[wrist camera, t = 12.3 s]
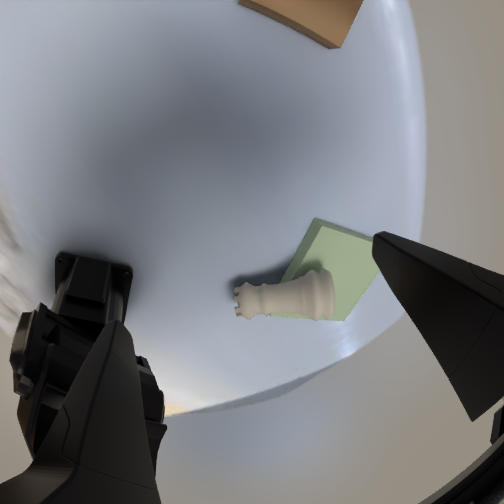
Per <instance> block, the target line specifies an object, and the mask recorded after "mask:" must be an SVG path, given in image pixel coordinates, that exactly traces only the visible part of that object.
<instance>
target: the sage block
mask: <svg viewBox="0 0 504 504" xmlns="http://www.w3.org/2000/svg"><path fill="white" fill-rule="evenodd" d="M372 244H373V238H371V237H369V236H366V235H363V234H360V233H357V232H355V231H352V230H349V229H346V228H343V227H340V226H337V225H334V224H331V223H328V222H325V221H322V220H319V219H316V218H314V220H313V222H312V224H311V226H310V228H309V230H308V232H307V233H306V235H305V237H304V239H303V241H302V243H301V244H300V246H299V248H298V250H297V252H296V254H295V255H294V257H293V259H292V261H291V263H290V264H289V266H288V268H287V270H286V272H285V273H284V275H283V277H282V279H281V281H280V282H279V284H280V283H284V282H289V281H292V280H295V279H298V278H299V277H300V276H304V275H305V274H306V273H307V272H308V271H310V270H314V271H316V272H317V273H319V272H320V271H321V269H322V268H324V269H326V270H328V271H330V272H331V275H332V279H333V283H334V291H335V312H334V315H333V316H332V317H331V318H330V319H328V320H334V321H344V320H345V319H346V317H347V316H348V315H349V313H350V312H351V311H352V309H353V308H354V307H355V305H356V304H357V303H358V301H359V300H360V299H361V297H362V296H363V294H364V293H365V292H366V290H367V289H368V287H369V286H370V284H371V283H372V282H373V280H374V279H375V277H376V276H377V274H378V273H379V271H380V269H379V268H378V266H377V264H376V263H375V261H374V259H373V257H372ZM269 315H270V316H275V317H287V318H301V319H310V318H309V317H308V316H304V317H303V316H302V315H299V314H292V313H272V314H269ZM318 320H326V319H325V318H324V317H323V316H321V317H320V318H319V319H318Z"/></svg>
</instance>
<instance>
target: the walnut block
mask: <svg viewBox="0 0 504 504" xmlns="http://www.w3.org/2000/svg"><path fill="white" fill-rule="evenodd" d="M362 2H363V0H240V1H239V2H238V4H240V5H243V6H245V7H248V8H250V9H252V10H255V11H257V12H259V13H262V14H264V15H266V16H268V17H270V18H273V19H275V20H277V21H279V22H281V23H283V24H285V25H287V26H289V27H291V28H293V29H295V30H297V31H298V32H300V33H302V34H304V35H306V36H307V37H309V38H311V39H313V40H315V41H316V42H318V43H320V44H321V45H323V46H325V47H326V48H328V49H335V48H341V46H342V44H343V42H344V40H345V38H346V36H347V34H348V31H349V29H350V27H351V25H352V23H353V21H354V19H355V17H356V15H357V13H358V11H359V9H360V7H361V5H362Z"/></svg>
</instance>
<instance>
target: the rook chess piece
mask: <svg viewBox="0 0 504 504" xmlns="http://www.w3.org/2000/svg"><path fill="white" fill-rule="evenodd" d="M234 294H237V296H234V302H238V306H239V307H235V313H236V316H237V317H238V316H243V317H245V318H246V319H248V320H250V319H251V318H253V317H254V316H255V315H257V314H264V315H266V316H268V315H269V314H272V313H292V314H299V315H302V316H303V317H304V316H308V317H309V318H310V319H312V320H316V321H317V320H318V319H319V318H320V317H321V316H323V317H324V318H325V319H326V320H328V319H330V318H331V317H332V316H333V315H334V312H335V291H334V283H333V279H332V275H331V272H330V271H328V270H326V269H324V268H322V269H321V271H320V272H319V273H317V272H316V271H314V270H310V271H308V272H307V273H306V274H305V275H304V276H300V277H299V278H298V279H295V280H292V281H289V282H284V283H280V284H273V285H267V284H265V283H263V284H262V285H261V286H253V285H251V284H249V283H248V282H245V283H244V284H243V285H242V286H241V287H235V288H234Z"/></svg>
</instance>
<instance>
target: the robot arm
mask: <svg viewBox="0 0 504 504" xmlns="http://www.w3.org/2000/svg"><path fill="white" fill-rule="evenodd" d="M372 257H373V259H374V261H375V263H376V264H377V266H378V268H379V269H380V271H381V273H382V275H383V276H384V278H385V280H386V282H387V283H388V285H389V287H390V288H391V290H392V292H393V293H394V295H395V296H396V298H397V299H398V300H399V302H400V303H401V305H402V306H403V308H404V309H405V311H406V312H407V313H408V315H409V316H410V318H411V319H412V321H413V322H414V324H415V325H416V327H417V328H418V330H419V331H420V333H421V334H422V336H423V338H424V339H425V341H426V342H427V344H428V346H429V347H430V349H431V350H432V352H433V354H434V355H435V357H436V359H437V360H438V362H439V364H440V365H441V367H442V369H443V370H444V372H445V374H446V375H447V377H448V378H449V381H450V383H451V384H452V386H453V388H454V390H455V392H456V393H457V395H458V397H459V399H460V401H461V403H462V404H463V406H464V408H465V410H466V412H467V414H468V416H469V418H470V420H471V421H472V422H473V421H474V420H476V419H477V418H478V417H479V416H481V415H482V414H483V413H485V412H486V411H487V410H488V409H490V408H491V407H492V406H493V405H494V404H496V403H497V402H498V401H499V400H500V399H502V400H503V402H504V275H502V274H498V273H496V272H493V271H490V270H487V269H485V268H482V267H480V266H477V265H474V264H472V263H470V262H467V261H465V260H462V259H460V258H457V257H454V256H452V255H449V254H447V253H444V252H442V251H439V250H436V249H434V248H431V247H428V246H425V245H423V244H420V243H417V242H414V241H412V240H409V239H406V238H403V237H400V236H397V235H394V234H391V233H389V232H386V231H382V232H379V233H376V234H375V235H374V236H373V244H372ZM60 258H62V259H63V260H64V261H62V260H60ZM125 272H128V273H129V274H125ZM132 278H133V270H132V268H130V267H128V266H123V265H118V264H113V263H108V262H105V261H100V260H95V259H90V258H86V257H81V256H76V255H71V254H67V253H61V252H60V253H58V254H57V256H56V259H55V292H56V296H55V299H54V302H53V306H52V309H51V310H49V309H48V308H47V306H46V305H44V304H43V303H41V302H40V304H39V305H38V307H37V309H36V310H35V309H34V311H33V312H23V313H22V315H21V317H20V320H19V323H18V326H17V329H16V332H15V335H14V339H13V343H12V348H11V354H10V360H9V361H10V363H11V366H12V368H13V380H14V392H15V393H16V394H18V395H20V400H19V405H18V409H17V417H18V421H19V424H20V427H21V430H22V433H23V436H24V439H25V441H26V444H27V446H28V449H29V452H30V454H31V457H32V459H33V462H32V463H31V465H30V466H29V467H28V468H27V469H26V470H25V471H24V472H23V473H21V474H19V475H17V476H15V477H13V478H11V479H9V480H7V481H5V482H3V483H1V484H0V504H161V501H160V497H159V492H158V490H157V484H156V480H155V476H156V461H157V453H158V449H159V446H160V442H161V440H162V438H163V436H164V434H165V432H166V430H167V425H166V424H162V423H163V419H164V412H165V406H164V394H163V392H162V390H159V388H158V385H157V382H156V379H155V376H154V375H153V373H152V371H151V369H150V366H149V364H148V361H147V359H146V358H144V357H142V356H139V357H138V356H136V355H135V351H134V345H133V339H132V336H131V334H130V333H129V331H128V330H127V329H126V327H125V326H124V321H125V315H126V309H127V304H128V298H129V293H130V288H131V283H132ZM490 442H491V444H492V446H491V447H490V448H489V449H488V450H487V451H486V452H484V453H483V454H482V455H481V456H480V457H479V458H478V459H477V460H476V461H474V462H473V463H472V464H471V465H470V466H469V467H468V468H466V469H465V470H464V471H463V472H461V473H460V474H459V475H458V476H456V477H455V478H454V479H453V480H451V481H450V482H449V483H447V484H446V485H445V486H443V487H442V488H441V489H439V490H438V491H436V492H435V493H434V494H432V495H431V496H429V497H428V498H426V499H425V500H423V501H422V502H420V503H419V504H504V404H503V405H502V406H501V407H500V408H499V409H498V410H497V411H496V412H495V414H494V420H493V427H492V433H491V439H490Z"/></svg>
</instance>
